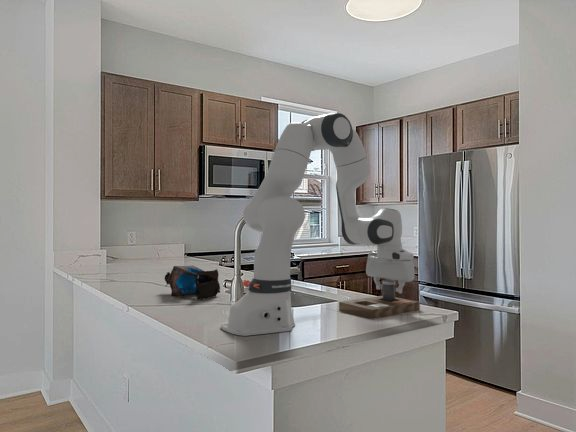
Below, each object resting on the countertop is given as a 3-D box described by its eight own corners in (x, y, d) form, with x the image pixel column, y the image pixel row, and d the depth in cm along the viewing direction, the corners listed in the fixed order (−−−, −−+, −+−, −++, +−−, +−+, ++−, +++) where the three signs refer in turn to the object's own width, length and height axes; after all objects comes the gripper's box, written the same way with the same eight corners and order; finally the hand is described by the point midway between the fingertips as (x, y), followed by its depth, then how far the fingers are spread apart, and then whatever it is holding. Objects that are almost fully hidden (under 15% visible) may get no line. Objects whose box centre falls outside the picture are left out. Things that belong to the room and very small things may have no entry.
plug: (389, 309, 161) (389, 281, 161) (379, 307, 165) (379, 280, 165) (397, 308, 164) (398, 280, 164) (388, 306, 167) (388, 279, 167)
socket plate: (372, 319, 146) (372, 308, 146) (339, 310, 159) (339, 301, 159) (419, 310, 160) (419, 301, 160) (385, 303, 173) (385, 294, 173)
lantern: (211, 314, 180) (166, 303, 193) (229, 280, 189) (185, 272, 202) (190, 292, 170) (144, 282, 182) (211, 257, 178) (165, 250, 191)
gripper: (362, 251, 171) (362, 288, 171) (405, 255, 154) (405, 296, 154) (374, 250, 174) (373, 286, 174) (417, 255, 158) (417, 294, 158)
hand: (388, 291), depth 164 cm, fingers open, 8 cm apart
